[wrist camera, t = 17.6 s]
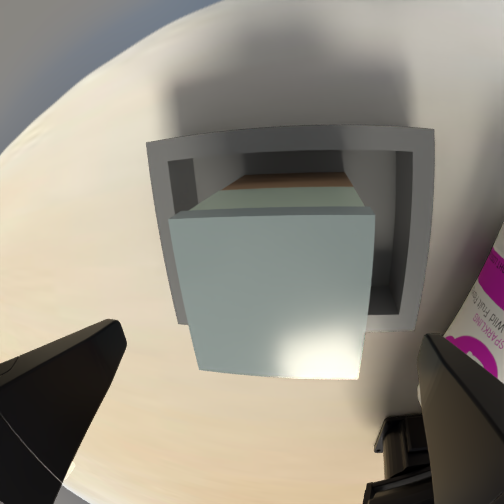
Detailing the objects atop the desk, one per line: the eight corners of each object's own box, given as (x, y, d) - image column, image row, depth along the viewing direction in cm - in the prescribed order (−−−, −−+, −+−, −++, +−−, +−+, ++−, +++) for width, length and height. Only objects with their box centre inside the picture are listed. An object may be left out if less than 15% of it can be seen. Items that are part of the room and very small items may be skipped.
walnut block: (344, 266, 19) (349, 307, 15) (252, 265, 21) (233, 305, 16) (344, 172, 17) (353, 187, 13) (244, 174, 19) (219, 190, 14)
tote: (400, 293, 20) (414, 330, 16) (201, 291, 24) (178, 323, 20) (409, 128, 16) (434, 129, 12) (179, 138, 19) (145, 142, 15)
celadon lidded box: (350, 309, 15) (358, 378, 10) (231, 306, 16) (199, 369, 12) (355, 184, 13) (375, 215, 8) (216, 188, 14) (168, 219, 10)
